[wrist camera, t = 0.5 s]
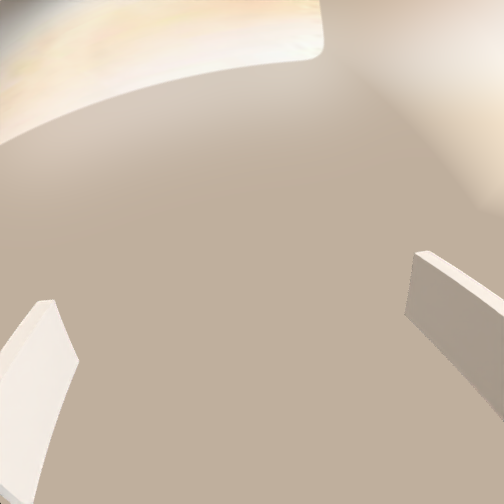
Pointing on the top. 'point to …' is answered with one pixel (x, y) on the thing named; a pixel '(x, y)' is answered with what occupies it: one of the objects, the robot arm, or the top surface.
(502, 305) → the robot arm
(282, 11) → the top surface
